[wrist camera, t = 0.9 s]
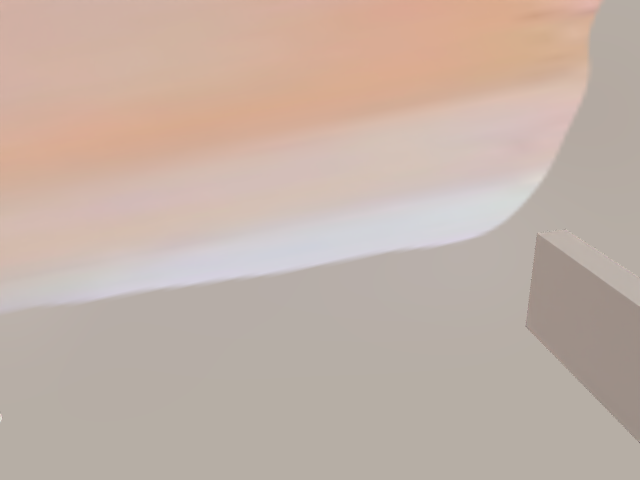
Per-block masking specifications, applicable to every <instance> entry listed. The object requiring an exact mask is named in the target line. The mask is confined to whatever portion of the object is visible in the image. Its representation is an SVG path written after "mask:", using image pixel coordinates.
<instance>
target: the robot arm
mask: <svg viewBox="0 0 640 480" xmlns="http://www.w3.org/2000/svg"><path fill="white" fill-rule="evenodd" d="M526 327H527V328H528V329H529V330H530V331H531V332H532V334H533V335H534V336H536V337H537V339H538V340H539V341H540V342H541V343H542V344H543V345H544V346H545V347H546V348H547V349H548V350H549V351H550V352H551V353H552V354H553V355H554V356H555V357H556V358H557V359H558V360H559V361H560V362H561V363H562V364H563V365H564V366H565V367H566V368H567V369H568V370H569V371H570V372H571V373H572V374H573V375H574V376H575V377H576V378H577V379H578V380H579V382H580V383H581V384H583V386H584V387H585V388H586V389H587V390H588V391H589V392H590V393H591V394H592V395H593V396H594V397H595V398H596V399H597V400H598V401H599V402H600V403H601V404H602V405H603V406H604V407H605V408H606V409H607V410H608V411H609V412H610V413H611V414H612V415H613V416H614V417H615V418H616V419H617V420H618V421H619V422H620V423H621V424H622V425H623V426H624V427H625V429H626V430H627V431H629V433H630V434H631V435H632V436H633V437H634V438H635V439H636V440H637V441H638V442H639V443H640V277H638V276H636V275H635V274H633V273H632V272H630V271H629V270H627V269H626V268H624V267H623V266H621V265H620V264H618V263H617V262H615V261H613V260H612V259H610V258H609V257H607V256H606V255H604V254H603V253H601V252H600V251H598V250H596V249H595V248H593V247H592V246H590V245H589V244H587V243H586V242H584V241H583V240H581V239H580V238H578V237H576V236H575V235H574V234H572V233H570V232H569V231H567V230H566V229H563V230H555V231H549V232H542V233H537V238H536V246H535V255H534V263H533V271H532V279H531V287H530V295H529V304H528V311H527V321H526ZM1 420H2V416H1V413H0V422H1Z"/></svg>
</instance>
